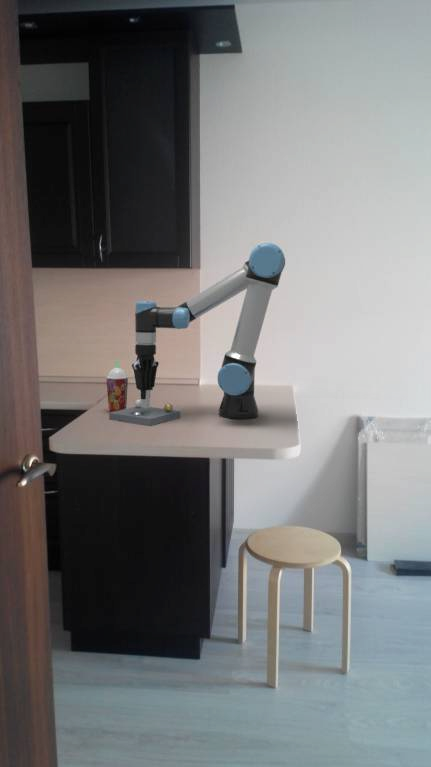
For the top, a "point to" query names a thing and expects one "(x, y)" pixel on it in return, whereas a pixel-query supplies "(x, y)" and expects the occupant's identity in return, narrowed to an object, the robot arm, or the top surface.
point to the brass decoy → (168, 407)
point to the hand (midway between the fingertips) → (145, 407)
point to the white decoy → (138, 403)
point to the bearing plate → (144, 415)
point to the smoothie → (117, 389)
